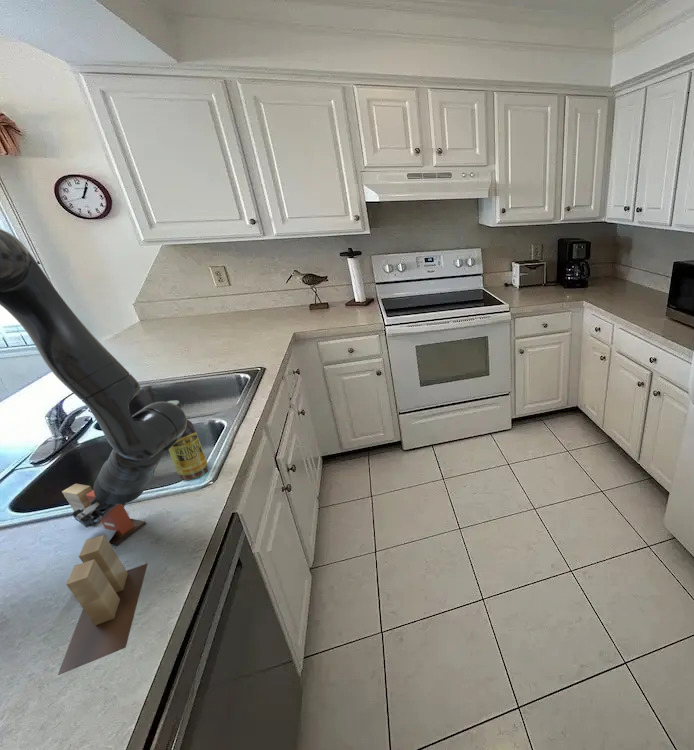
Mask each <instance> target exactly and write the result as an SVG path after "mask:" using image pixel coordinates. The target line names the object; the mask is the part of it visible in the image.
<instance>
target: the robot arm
mask: <svg viewBox="0 0 694 750" xmlns="http://www.w3.org/2000/svg"><path fill="white" fill-rule="evenodd" d="M0 306H1V307H2V308H4V309H5V310H6V311H7V312H8V313H9V314H10V315H11V316H12V317H13V318H14V319H15V320H16V321H17V322H18V323H19V324H20V325H21V326H22V328H23V329H24V330H25V332H26V333H27V335H28V336H29V337H30V340H31V341H32V342H33V344H34V346H35V347H36V350H37V351H38V353H39V354H40V356H41V358H42V360H43V361H44V363H45V364H46V366H47V367H48V368H49V370H50V371H51V372H52V374H54V376H55V377H56V378H57V379H58V380H59V381H60V382H61V383H62V384H63V385H64V386H65V387H66V388H67V389H69V391H71V392H72V393H73V394H74V395H75V396H76V397H77V398H78V399H79V400H81V402H83V403H84V404H85V405H86V406H87V408H88V409H89V410H90V413H91V414H92V416H93V417H94V419H95V420H96V422H97V424H98V425H99V427H100V429H101V431H102V433H103V435H104V436H105V439H106V440H107V442H108V444H109V445H110V447H111V448H112V450H111V452H110V453H109V456H108V458H107V459H106V460H105V461H104V463H103V465H102V466H101V469H100V470H99V473H98V475H97V476H96V478H95V481H94V483H93V487H92V490H94V494H95V498H94V499H93V500H92V501H91V503H90V505H89V507H88V508H87V509H85V510H84V509H81V510H80V509H78V510H76V511H74V510H73V513H72V514H71V515H72V517H73V518H74V520H75V521H77V522H79V523H80V524H81V525H83V526H84V528H89V527H90V528H97V527H96V526H97V525H99V523H100V521H101V519H102V517H103V516H105V515H107V514H109V513H110V512H111V511H112V510H113V509H114V508H115V507H116V506H117V505H119V504H122V505H123V507H124V508H125V506H126V504H128V503H131V502H133V501H135V500H137V498H139V497H140V496H141V495H142V494H143V493H144V491H145V489H146V488H147V487H148V485H149V483H150V481H151V480H152V479H153V478H154V476H155V471H156V469H157V467H158V466H159V464H160V461H162V458H163V457H164V455H165V454H166V453H167V452H169V449H170V448H171V447H172V445H173V444H174V443H175V442H176V441H177V440H178V439H179V438H180V437H181V435H182V434H183V433H184V431H185V429H186V426H187V420H188V419H187V416H186V412H185V411H184V410H183V409H182V407H181V408H180V407H178V406H177V405H175V404H173V403H169V402H168V401H155V402H151V403H149V404H148V405H145V406H144V407H142V409H140V410H138V411H137V412H136V413H134V414H131V411H130V403H131V401H132V400H133V399H134V398H135V397H136V396H137V395H138V394H139V392H140V390H141V385H140V383H139V382H138V380H137V379H136V378H135V377H134V376H133V375H132V374H131V373H130V372H129V371H128V370H127V368H125V367H124V365H122V364H121V362H119V361H118V359H117V358H116V357H115V356H114V355H113V354H112V353H111V352H110V351H108V349H107V348H106V347H105V346H104V345H103V344H102V343H101V342H100V341H99V340H98V339H97V338H96V337H95V336H94V334H92V332H91V331H90V330H89V328H87V327H86V326H85V324H84V323H83V322H82V321H81V320H80V319H79V318H78V316H77V315H76V314H75V313H74V311H73V310H72V309H71V308H70V306H69V305H68V304H67V302H66V301H65V299H63V297H62V296H61V295H60V293H59V292H58V291H57V289H56V288H55V287H54V285H53V283H52V282H51V281H50V280H49V278H48V277H47V275H46V274H45V272H44V271H43V269H42V268H41V267H40V265H39V263H38V262H37V261H36V259H35V257H34V256H33V255H32V253H31V252H30V251H29V249H28V248H27V246H26V245H24V243H23V242H22V241H21V240H20V239H19V238H18V237H16V236H14V235H13V234H12V233H10V232H8V231H6V230H4V229H2V228H0ZM99 526H100V525H99Z"/></svg>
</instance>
